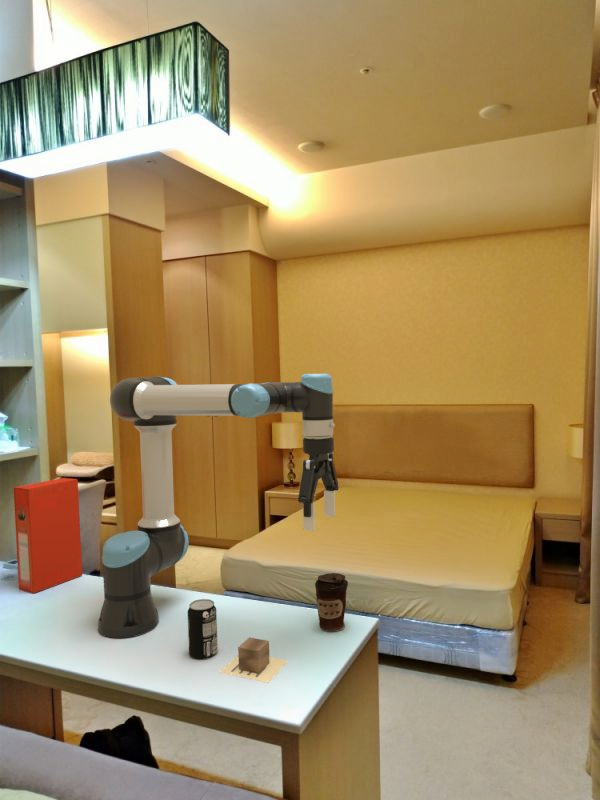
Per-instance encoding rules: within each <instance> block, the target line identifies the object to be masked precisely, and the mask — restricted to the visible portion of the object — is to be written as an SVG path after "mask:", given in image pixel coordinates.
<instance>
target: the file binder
mask: <svg viewBox="0 0 600 800" xmlns="http://www.w3.org/2000/svg"><path fill="white" fill-rule="evenodd" d="M79 501H80V500H79V480H78V478H68V477H63V478H62V477H60V478H55V479H50V480H46V481H41V482H36V483H30V484H26V485H21V486H20V485H19V486H14V487H13V505H14V521H15V525H14V526H15V539H16V560H17V562H16V563H17V577H18V578H17V579H18V581H17V582H18V589H19V590H20V591H23V592H27V593H29V594H30V593H31V594H35V593H39V592H40V591H44V590H46V589H49V588H52V587H54V586H56V585H60V584H62V583H65V582H68V581H71V580H73V579H76V578H78V577H81V576H83V562H82V561H83V559H82V541H81V539H82V538H81V537H82V536H81V522H80V521H81V520H80V502H79Z"/></svg>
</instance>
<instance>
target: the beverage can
mask: <svg viewBox="0 0 600 800" xmlns="http://www.w3.org/2000/svg"><path fill="white" fill-rule="evenodd" d="M217 616H218V615H217V608H216V606H215V602H214V600H212V599H208V598H207V599H206V598H201V599H195V600H193V601H190V603H189V608H188V610H187V630H188V631H187V633H188V635H187V636H188V637H187V638H188V654H189V655H190V657H191V658H193V659H196V660H206V659H210V658H212V657H214V656H215V655H216V654H217V652H218V650H219V649H218V623H217V621H218V620H217Z"/></svg>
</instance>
